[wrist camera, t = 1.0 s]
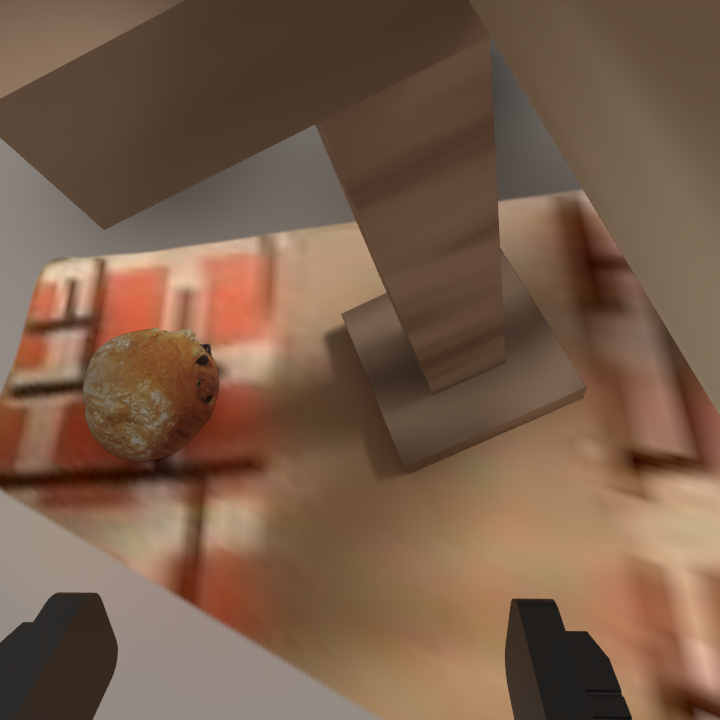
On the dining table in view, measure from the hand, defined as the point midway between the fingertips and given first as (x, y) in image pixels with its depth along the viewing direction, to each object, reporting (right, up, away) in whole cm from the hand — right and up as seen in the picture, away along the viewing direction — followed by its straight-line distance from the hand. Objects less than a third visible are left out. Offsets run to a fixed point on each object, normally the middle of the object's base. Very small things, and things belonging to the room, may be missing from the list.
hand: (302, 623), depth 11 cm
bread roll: (-14, +2, +32) cm, 35 cm away
